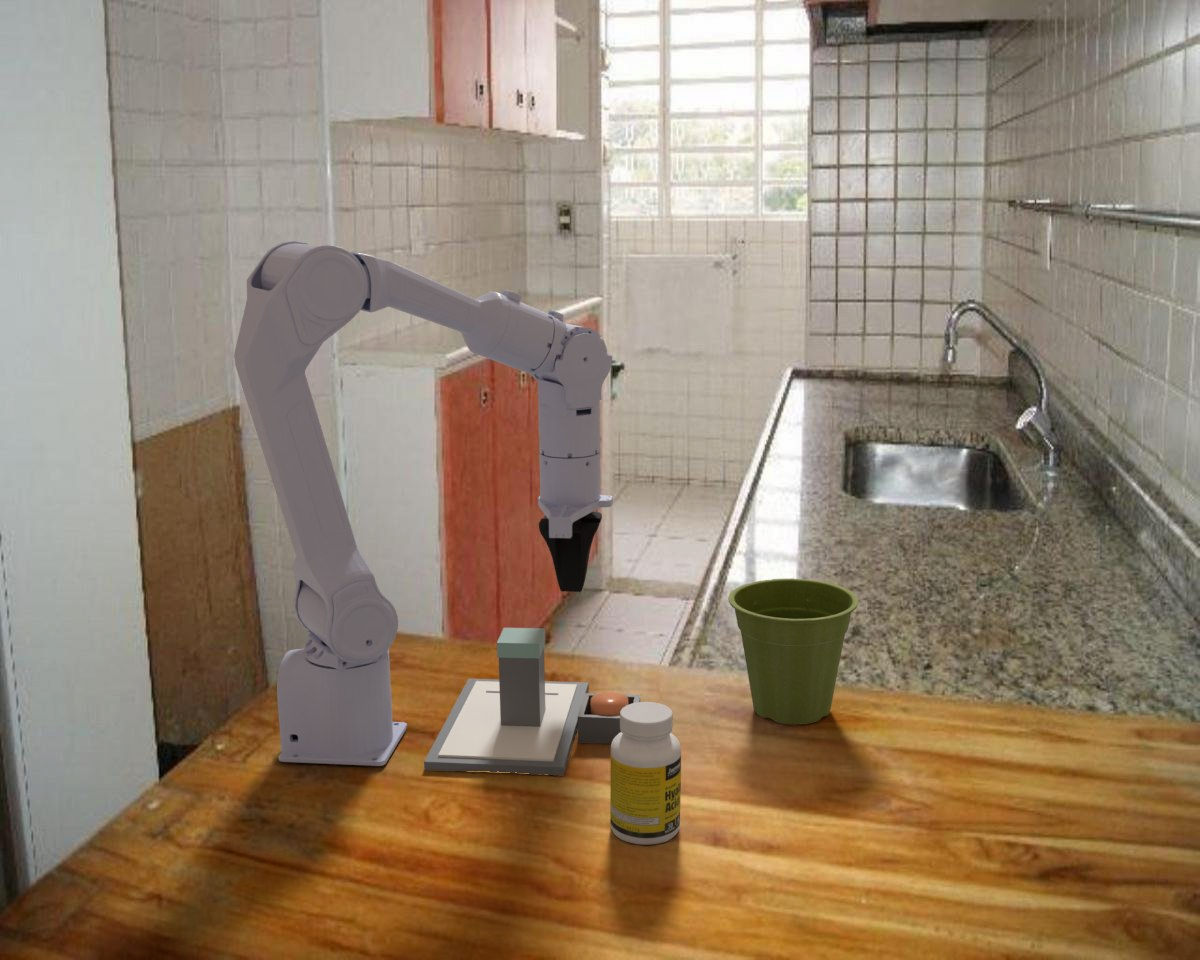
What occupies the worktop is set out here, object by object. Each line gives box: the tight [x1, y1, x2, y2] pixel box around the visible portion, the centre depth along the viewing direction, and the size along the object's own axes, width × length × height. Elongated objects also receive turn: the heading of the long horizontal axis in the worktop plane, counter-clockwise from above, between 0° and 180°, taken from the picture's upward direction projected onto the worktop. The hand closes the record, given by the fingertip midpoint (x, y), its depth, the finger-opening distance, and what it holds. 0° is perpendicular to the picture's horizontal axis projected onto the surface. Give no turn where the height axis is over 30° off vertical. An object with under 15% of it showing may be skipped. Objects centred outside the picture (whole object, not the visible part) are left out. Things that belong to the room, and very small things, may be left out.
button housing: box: [577, 692, 641, 745], centre depth 112 cm, size 5×5×2 cm
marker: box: [496, 627, 546, 727], centre depth 112 cm, size 4×4×8 cm
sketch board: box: [423, 678, 589, 777], centre depth 113 cm, size 12×18×1 cm, turn 174°
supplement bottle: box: [609, 701, 682, 846], centre depth 94 cm, size 5×5×10 cm
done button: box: [591, 691, 628, 716], centre depth 112 cm, size 3×3×2 cm
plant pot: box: [728, 577, 859, 726], centre depth 115 cm, size 12×12×11 cm
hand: (571, 589), depth 119 cm, fingers closed
